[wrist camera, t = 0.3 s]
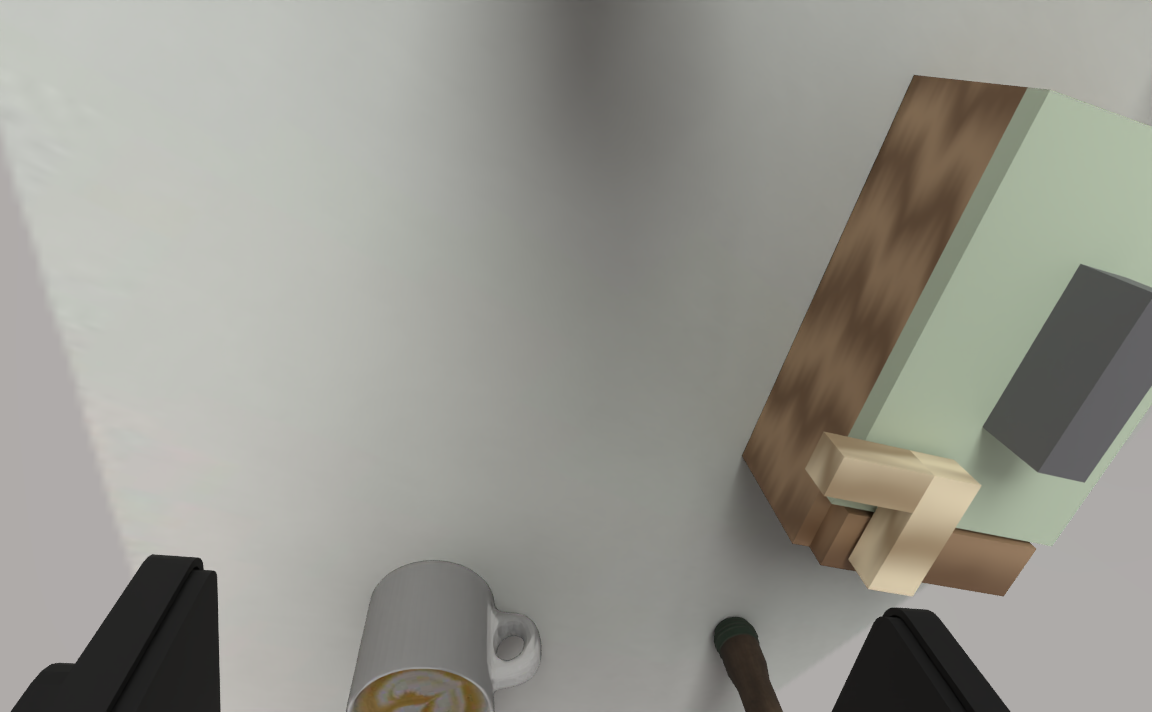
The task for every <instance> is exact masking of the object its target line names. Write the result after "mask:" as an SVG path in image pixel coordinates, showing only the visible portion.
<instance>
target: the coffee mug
mask: <svg viewBox="0 0 1152 712" xmlns="http://www.w3.org/2000/svg"><path fill="white" fill-rule="evenodd" d="M510 636H518V637H521V638H522V639H523V640H524V647H523V650H522V652H521V653H520V654H519V655H518V656H517V657H515V658H513V659H511V660H501V659H500V658H498V657H497V655H496V653H497V648H498V646H499V645H500V643H501V641H503V640H504V639H506V638H507V637H510ZM540 661H541V639H540V636H539V632H538V629H537V627H536V625H535V623H534V622H533V621H532V620H530V619H529V618H528V617H527V616H525V615H522V614H518V613H509V612H502V611H499V610H497V609H496V608H495V605H494V598H493V594H492V592H491V590H490V588H489V586H488V585H487V583H486V582H485V581H484V580H483V579H482V578H481V577H480V576H479V575H478V574H476V573H475V572H473V571H472V570H470V569H468V568H466V567H464V566H462V565H458V564H455V563H451V562H446V561H434V560H430V561H421V562H415V563H411V564H408V565H405V566H402V567H400V568H398V569H396V570H394V571H392V572H391V573H389V574H388V575H387V576H386V577H385V578H384V579H382V581H381V582H380V583H379V584H378V585H377V587H376V588H375V590H374V591H373V594H372V596H371V600H370V604H369V609H368V613H367V618H366V622H365V627H364V631H363V636H362V640H361V645H360V649H359V654H358V658H357V663H356V667H355V672H354V676H353V681H352V685H351V690H350V694H349V699H348V704H347V709H346V712H494V692H495V691H496V690H499V689H504V688H509V687H514V686H518V685H521V684H523V683H525V682H526V681H528V680H529V679H531V678H532V677H533V676H534V674H535V673H536V671H537V670H538V667H539V665H540Z"/></svg>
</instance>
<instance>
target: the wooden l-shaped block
mask: <svg viewBox="0 0 1152 712" xmlns="http://www.w3.org/2000/svg"><path fill="white" fill-rule="evenodd" d="M805 470H806V471H807V472H808V474H809V475H810V477H811V478H812V480H813V481H814V482H815V484H816V485H817V487H818V488H819V490H820V491H821V492H822V494H823V495H824V496H827V497H832V498H837V499H842V500H848V501H853V502H858V503H863V504H868V505H873V506H878V507H877V509H876V511H875V513H874V514H873V516H872V518H871V520H870V521H869V523H868V525H867V527H866V529H865V530H864V532H863V534H862V536H861V537H860V539H859V541H858V543H857V545H856V546H855V548H854V550H853V552H852V553H851V555H850V557H849V561H850V562H851V564H852V565H853V567H854V569H855V570H856V572H857V573H858V575H859V576H860V578H861V579H862V581H863V582H864V584H865V585H866V587H867V588H868V589H871V590H877V591H883V592H889V593H895V594H901V595H907V596H913V595H914V593H915V592H916V590H917V589H918V587H919V585H920V584H921V582H922V581H923V579H924V577H925V576H926V574H927V573H928V571H929V569H930V568H931V566H932V565H933V563H934V561H935V560H936V558H937V557H938V555H939V553H940V552H941V550H942V549H943V547H944V545H945V544H946V542H947V541H948V539H949V537H950V536H951V534H952V533H953V531H954V529H955V528H956V526H957V525H958V523H959V521H960V520H961V518H962V517H963V515H964V513H965V512H966V510H967V509H968V507H969V505H970V504H971V502H972V501H973V499H974V497H975V496H976V494H977V493H978V491H979V489H980V488H981V486H982V485H981V484H979V483H978V482H977V481H976V480H975V479H974V478H973V477H972V476H971V475H970V474H969V473H968V472H967V471H966V470H965V469H964V468H962V467H961V466H960V465H959V464H958V463H957V462H956V461H955V460H953V459H948V458H944V457H939V456H934V455H930V454H925V453H921V452H916V451H911V450H907V449H902V448H897V447H893V446H888V445H884V444H879V443H874V442H870V441H865V440H861V439H856V438H851V437H847V436H842V435H838V434H833V433H828V432H823V434H822V436H821V438H820V440H819V442H818V444H817V446H816V448H815V450H814V452H813V454H812V456H811V458H810V460H809V462H808V464H807V466H806V468H805Z"/></svg>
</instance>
